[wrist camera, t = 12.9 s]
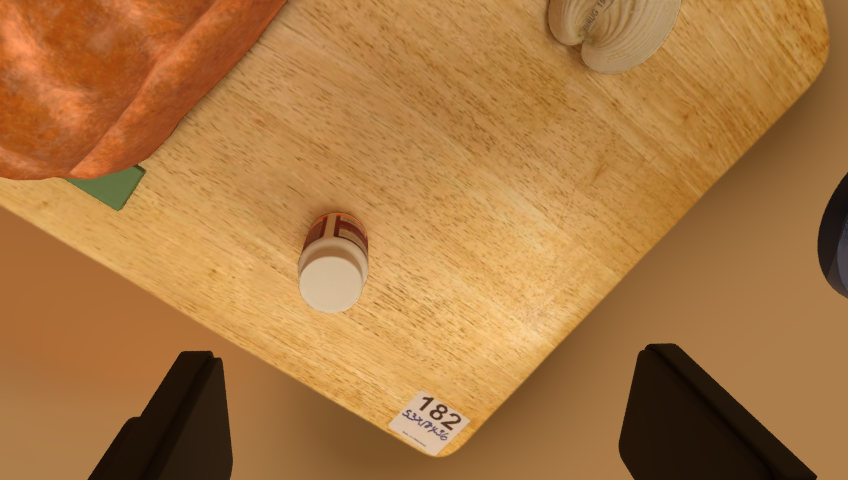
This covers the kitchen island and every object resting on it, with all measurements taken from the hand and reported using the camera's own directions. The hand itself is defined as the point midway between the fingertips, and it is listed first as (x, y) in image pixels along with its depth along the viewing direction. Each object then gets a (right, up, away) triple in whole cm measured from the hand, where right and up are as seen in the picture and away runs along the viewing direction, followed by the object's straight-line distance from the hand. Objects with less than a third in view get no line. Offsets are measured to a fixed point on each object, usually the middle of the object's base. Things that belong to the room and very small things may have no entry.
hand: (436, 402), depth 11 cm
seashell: (+13, +20, +25) cm, 34 cm away
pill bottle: (-7, +4, +28) cm, 29 cm away
